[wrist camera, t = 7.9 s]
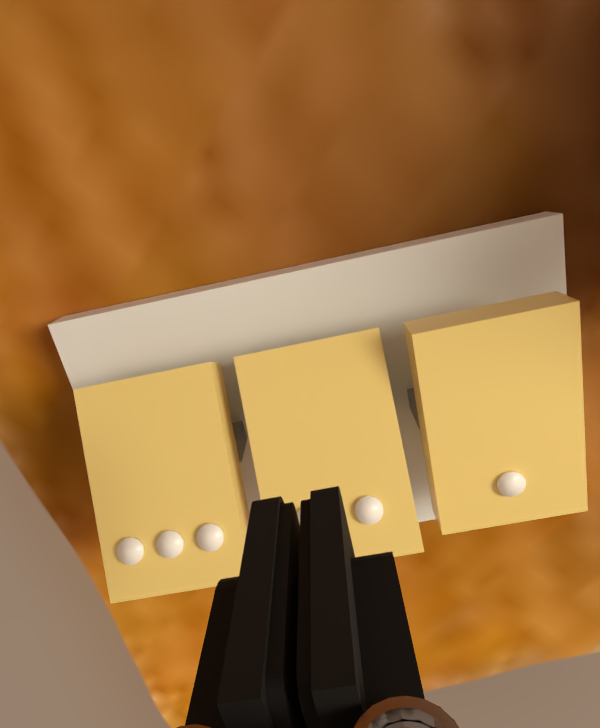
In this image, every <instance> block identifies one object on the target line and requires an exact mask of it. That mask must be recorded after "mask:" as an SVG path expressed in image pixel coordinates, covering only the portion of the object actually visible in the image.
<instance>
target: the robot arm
mask: <svg viewBox="0 0 600 728" xmlns="http://www.w3.org/2000/svg"><path fill="white" fill-rule="evenodd" d="M177 728H459V727H458V725H457V724H456V722H455V720H454V719H452V718H451V717H450V716H449V715H448V714H447V713H446V712H445V711H444V710H443V709H442V708H441V707H439V706H437V705H435V704H433V703H431V702H429V701H427V700H425V698H424V694H423V689H422V684H421V680H420V675H419V671H418V666H417V662H416V657H415V652H414V648H413V643H412V639H411V634H410V630H409V625H408V620H407V616H406V611H405V607H404V602H403V598H402V593H401V588H400V584H399V579H398V575H397V570H396V566H395V561H394V556H393V552H392V551H391V552H385V553H379V554H373V555H367V556H361V557H355V554H354V549H353V545H352V541H351V536H350V532H349V527H348V523H347V518H346V514H345V509H344V505H343V500H342V496H341V492H340V488H339V486H336V487H331V488H325V489H319V490H313V491H311V492H310V499H307V500H301V506H300V524H299V520H298V516H297V512H296V509H295V505H294V503H293V502H290V503H284V501H283V499H282V497H281V496H279V497H273V498H268V499H262V500H256V501H253V502H252V504H251V509H250V515H249V521H248V527H247V532H246V538H245V544H244V550H243V555H242V561H241V567H240V573H239V576H237V577H231V578H225V579H220V581H219V582H218V584H217V587H216V590H215V594H214V599H213V603H212V607H211V612H210V616H209V621H208V625H207V630H206V634H205V639H204V643H203V648H202V652H201V657H200V661H199V666H198V670H197V675H196V679H195V683H194V688H193V692H192V697H191V701H190V706H189V710H188V715H187V719H186V724H185V726H180V727H177Z"/></svg>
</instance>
